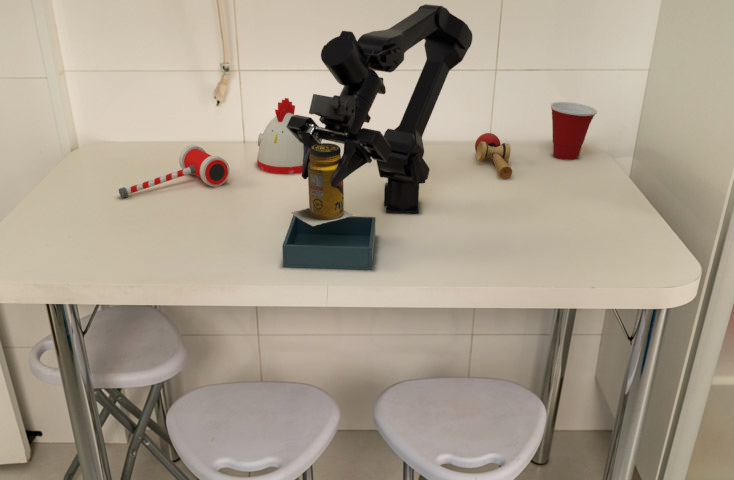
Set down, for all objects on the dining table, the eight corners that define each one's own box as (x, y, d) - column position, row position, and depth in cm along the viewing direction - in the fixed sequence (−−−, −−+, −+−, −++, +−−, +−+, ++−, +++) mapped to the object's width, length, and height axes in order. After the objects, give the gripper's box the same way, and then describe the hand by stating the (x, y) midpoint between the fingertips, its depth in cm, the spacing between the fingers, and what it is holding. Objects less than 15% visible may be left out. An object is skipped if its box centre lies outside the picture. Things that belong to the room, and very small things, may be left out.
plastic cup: (594, 163, 183) (603, 112, 177) (548, 163, 183) (555, 111, 177) (583, 150, 192) (591, 100, 186) (539, 149, 192) (545, 100, 186)
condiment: (353, 216, 136) (353, 148, 130) (312, 227, 132) (310, 157, 126) (330, 203, 141) (329, 138, 135) (290, 214, 137) (286, 147, 131)
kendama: (524, 183, 175) (501, 148, 189) (523, 157, 171) (500, 124, 185) (490, 190, 175) (469, 155, 189) (489, 165, 171) (468, 131, 185)
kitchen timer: (247, 169, 179) (242, 102, 171) (274, 152, 190) (271, 89, 182) (301, 177, 174) (299, 109, 167) (327, 159, 185) (326, 95, 178)
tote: (375, 237, 145) (375, 216, 143) (371, 269, 133) (372, 248, 131) (294, 234, 146) (293, 214, 144) (283, 267, 134) (282, 245, 132)
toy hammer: (133, 206, 158) (128, 176, 155) (110, 190, 166) (105, 161, 163) (231, 183, 170) (229, 155, 167) (205, 169, 178) (202, 142, 175)
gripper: (290, 66, 132) (251, 147, 130) (382, 81, 122) (342, 168, 120) (320, 103, 141) (284, 179, 139) (407, 119, 132) (370, 201, 130)
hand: (317, 181), depth 132 cm, fingers closed on condiment, 6 cm apart
